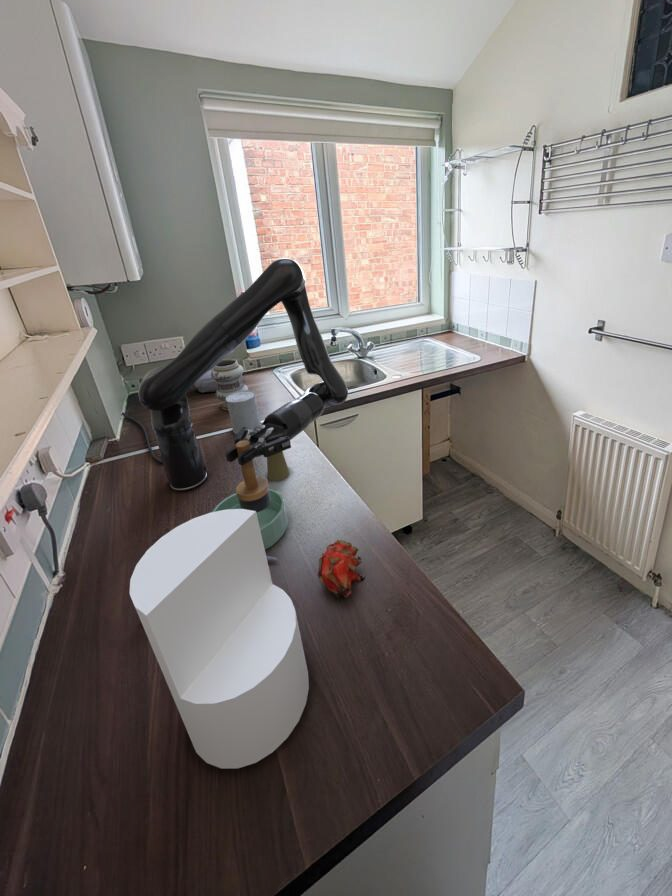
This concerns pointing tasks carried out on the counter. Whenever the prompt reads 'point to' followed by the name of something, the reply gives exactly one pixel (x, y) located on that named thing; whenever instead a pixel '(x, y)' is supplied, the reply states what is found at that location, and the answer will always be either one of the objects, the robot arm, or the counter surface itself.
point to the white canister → (243, 410)
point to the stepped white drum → (223, 636)
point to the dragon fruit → (339, 568)
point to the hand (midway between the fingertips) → (233, 459)
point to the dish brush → (252, 485)
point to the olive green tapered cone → (277, 467)
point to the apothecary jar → (228, 379)
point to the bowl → (264, 516)
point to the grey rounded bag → (206, 383)
